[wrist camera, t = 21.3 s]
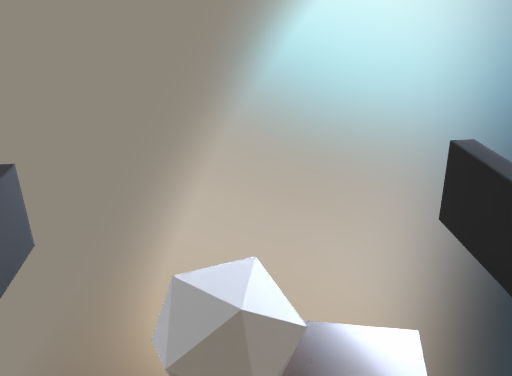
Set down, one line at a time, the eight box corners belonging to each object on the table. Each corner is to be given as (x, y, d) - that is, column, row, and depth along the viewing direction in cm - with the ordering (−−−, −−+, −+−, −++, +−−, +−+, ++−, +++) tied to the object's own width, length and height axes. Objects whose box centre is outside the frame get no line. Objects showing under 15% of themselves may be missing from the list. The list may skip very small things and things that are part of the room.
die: (288, 465, 27) (348, 292, 28) (133, 432, 24) (207, 240, 25) (240, 399, 35) (288, 266, 36) (120, 368, 32) (176, 225, 33)
